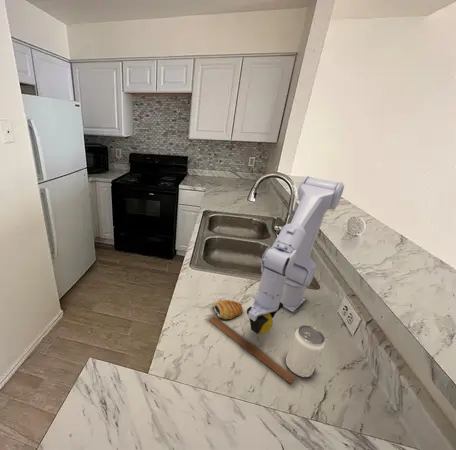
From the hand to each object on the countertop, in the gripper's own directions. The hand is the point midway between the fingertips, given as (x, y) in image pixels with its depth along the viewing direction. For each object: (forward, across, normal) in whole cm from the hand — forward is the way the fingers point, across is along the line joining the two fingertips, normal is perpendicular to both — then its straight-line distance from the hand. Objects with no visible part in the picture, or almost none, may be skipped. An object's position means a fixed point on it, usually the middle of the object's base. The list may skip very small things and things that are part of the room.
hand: (260, 325), depth 74 cm
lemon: (+2, 0, 0) cm, 2 cm away
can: (+5, 0, +12) cm, 13 cm away
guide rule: (+4, +6, 0) cm, 7 cm away
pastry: (+5, -1, -12) cm, 13 cm away
